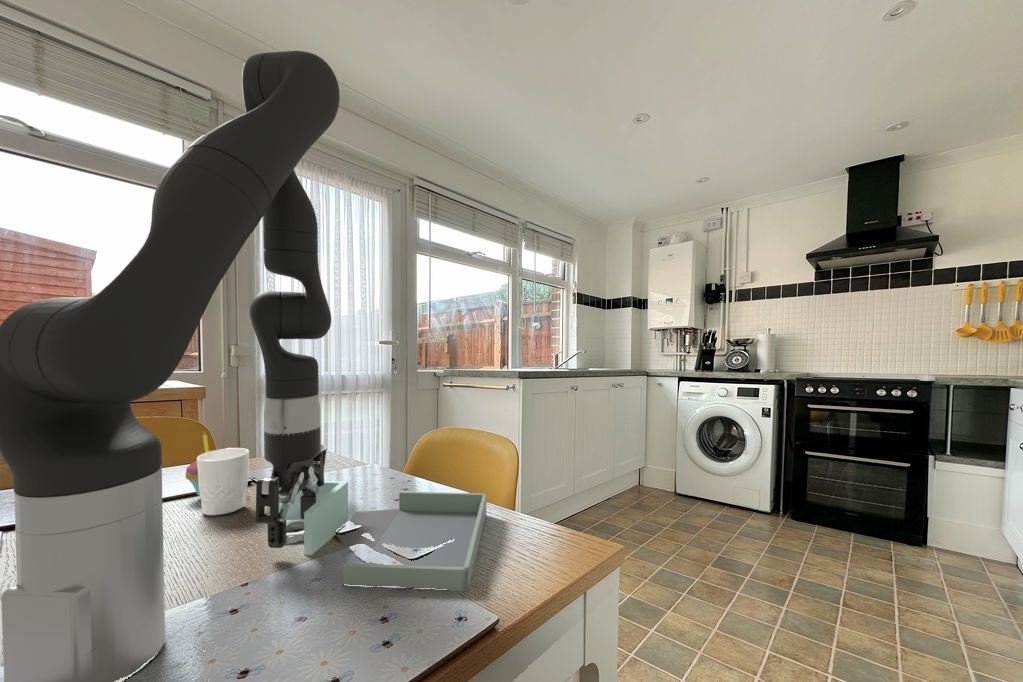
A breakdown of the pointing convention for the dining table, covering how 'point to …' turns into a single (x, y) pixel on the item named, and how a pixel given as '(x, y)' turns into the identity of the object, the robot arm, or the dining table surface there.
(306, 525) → the right angle wall
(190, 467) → the cupcake
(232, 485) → the white cup
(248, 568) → the dining table surface
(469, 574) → the tray
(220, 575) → the dining table surface
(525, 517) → the dining table surface
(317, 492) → the robot arm
